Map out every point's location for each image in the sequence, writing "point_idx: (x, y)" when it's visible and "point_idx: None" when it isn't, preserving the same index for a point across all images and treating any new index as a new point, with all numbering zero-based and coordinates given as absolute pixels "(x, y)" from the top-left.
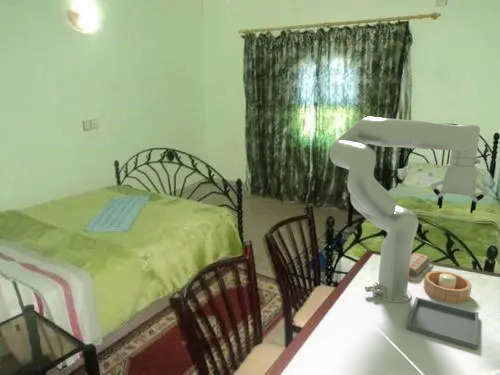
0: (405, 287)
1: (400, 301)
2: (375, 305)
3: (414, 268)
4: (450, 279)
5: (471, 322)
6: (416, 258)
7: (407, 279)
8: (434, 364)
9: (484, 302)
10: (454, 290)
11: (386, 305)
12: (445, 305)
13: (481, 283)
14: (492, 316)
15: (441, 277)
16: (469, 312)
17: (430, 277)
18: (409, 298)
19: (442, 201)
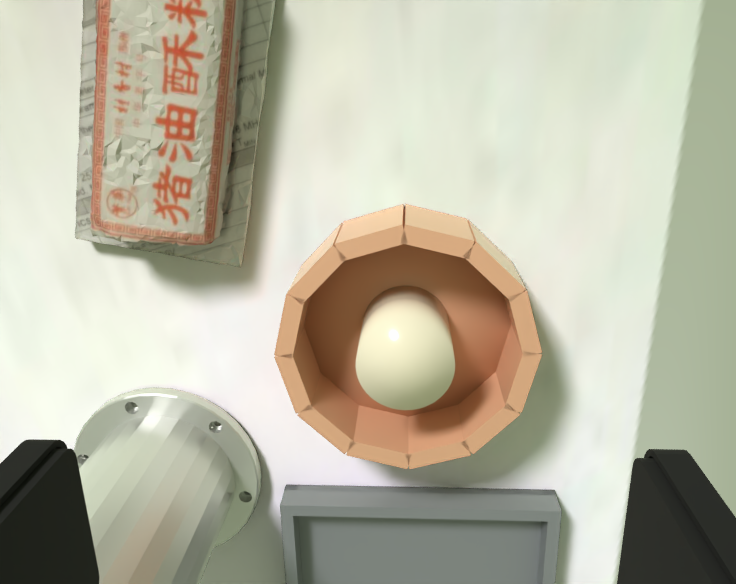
0: (216, 540)
1: (226, 540)
2: None
3: (190, 228)
4: (421, 391)
5: (528, 546)
6: (156, 51)
7: (206, 562)
8: None
9: (600, 317)
10: (450, 458)
11: None
12: (416, 516)
13: (608, 62)
14: (623, 436)
15: (369, 392)
16: (522, 518)
17: (306, 302)
18: (254, 498)
19: (9, 582)
